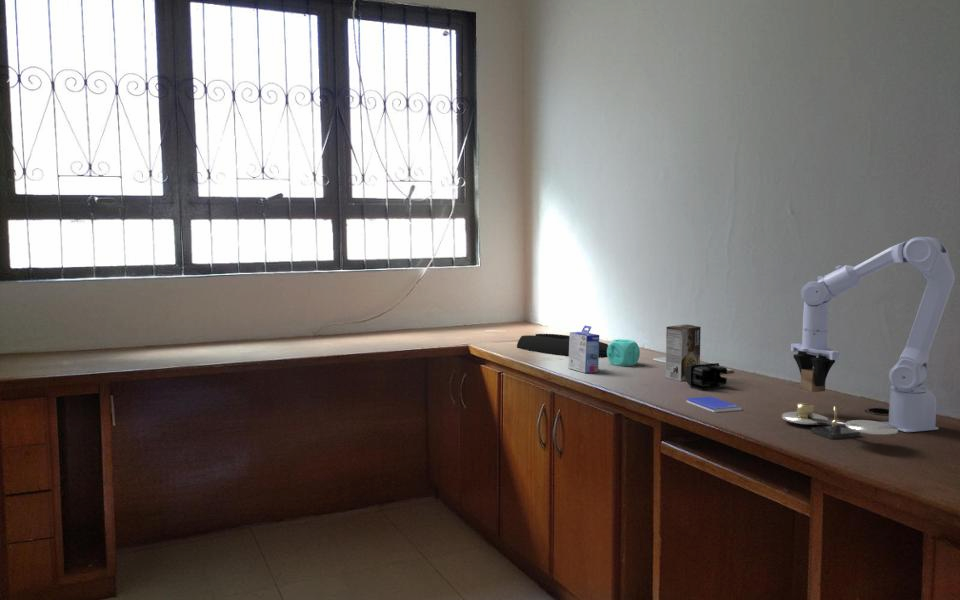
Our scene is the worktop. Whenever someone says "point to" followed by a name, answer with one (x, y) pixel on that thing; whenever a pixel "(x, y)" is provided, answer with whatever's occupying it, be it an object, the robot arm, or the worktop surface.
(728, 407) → the hard drive
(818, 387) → the walnut block
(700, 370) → the black electrical connector
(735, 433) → the worktop surface
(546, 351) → the docking station
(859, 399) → the worktop surface
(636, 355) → the decorative dice
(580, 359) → the ink cartridge box
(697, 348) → the coffee box
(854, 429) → the balance
